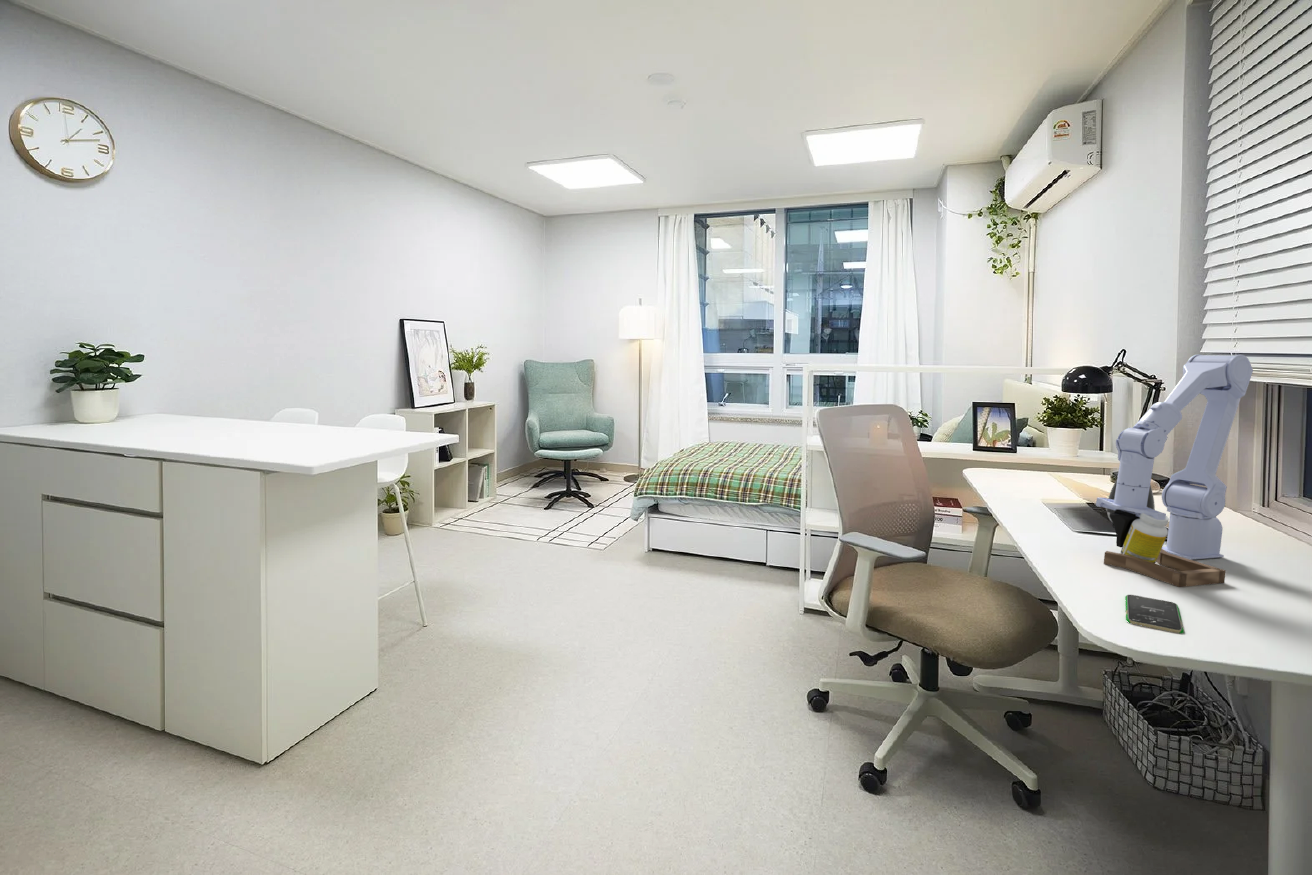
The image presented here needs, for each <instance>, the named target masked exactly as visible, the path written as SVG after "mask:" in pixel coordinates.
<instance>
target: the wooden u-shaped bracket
mask: <svg viewBox="0 0 1312 875" xmlns="http://www.w3.org/2000/svg"><path fill="white" fill-rule="evenodd" d="M1103 558H1104V559H1103V564H1104V565H1107V566H1112V567H1117V568H1123V569H1126V570H1129V571H1132V572H1135V573H1137V574H1141V575H1143V576H1147V577H1149V578H1153V579H1156V580H1159V581H1160V582H1165V583H1167V584H1169V585H1173V586H1175V587H1178V588H1183V587H1194V586H1195V587H1196V586H1204V585H1206V586H1207V585H1216V584H1218V585H1219V584H1225V581H1226V573H1227V572H1226V571H1227V570H1225V569H1222V568H1218V567H1215V566H1212V565H1209V564H1205V563H1202V562H1200V561H1196V560H1194V559H1193V560H1190V559H1186V558H1183V557H1180V556H1176V555H1173V554H1170V553H1168V552H1166V551H1165V550H1163V549H1161V551H1160V553H1159V556H1158V558H1157V560H1156V563H1152V562H1149V561H1146V560H1143V559H1140V558H1137V557H1134V556H1129V555H1126V554H1120V552H1115V551H1109V550H1106V551H1105V552H1104V557H1103Z"/></svg>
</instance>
